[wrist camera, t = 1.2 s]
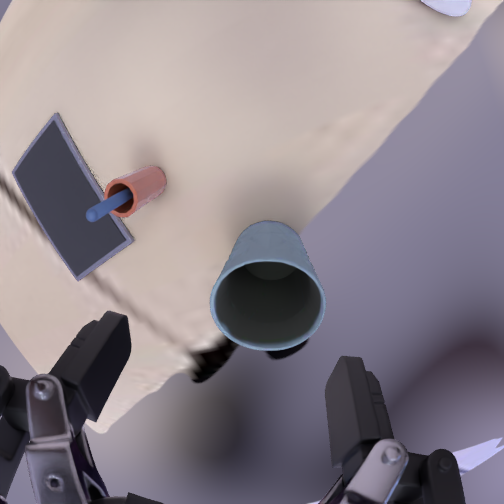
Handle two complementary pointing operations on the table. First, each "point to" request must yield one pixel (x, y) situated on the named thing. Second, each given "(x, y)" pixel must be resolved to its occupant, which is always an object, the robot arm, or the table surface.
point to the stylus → (108, 205)
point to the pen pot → (137, 188)
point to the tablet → (68, 201)
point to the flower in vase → (449, 6)
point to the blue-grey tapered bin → (268, 290)
